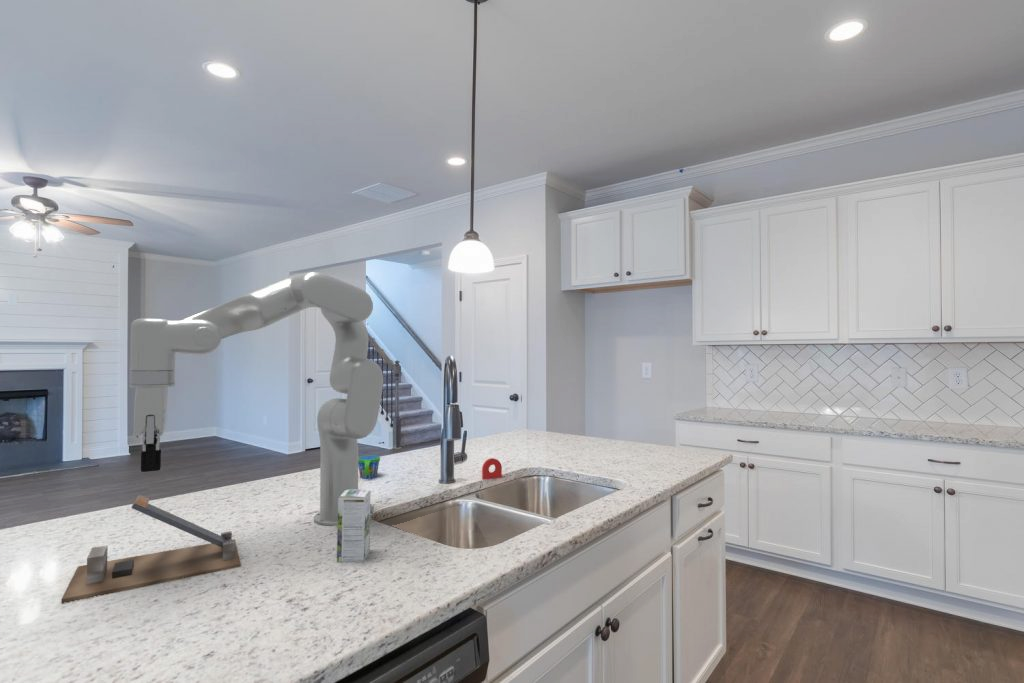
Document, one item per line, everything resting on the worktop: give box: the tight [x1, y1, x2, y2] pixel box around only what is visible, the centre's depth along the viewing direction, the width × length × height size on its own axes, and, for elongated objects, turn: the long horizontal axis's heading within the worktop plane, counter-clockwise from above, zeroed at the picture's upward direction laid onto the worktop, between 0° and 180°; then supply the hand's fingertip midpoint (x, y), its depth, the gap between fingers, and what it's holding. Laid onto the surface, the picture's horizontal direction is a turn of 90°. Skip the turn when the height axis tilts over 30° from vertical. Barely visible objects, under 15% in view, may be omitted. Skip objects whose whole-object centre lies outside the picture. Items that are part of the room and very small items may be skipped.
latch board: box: [60, 531, 242, 604], centre depth 105 cm, size 28×16×6 cm, turn 122°
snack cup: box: [358, 454, 381, 480], centre depth 179 cm, size 11×8×7 cm
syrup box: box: [336, 488, 372, 563], centre depth 110 cm, size 6×6×14 cm
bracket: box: [481, 457, 503, 480], centre depth 175 cm, size 12×4×8 cm, turn 117°
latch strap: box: [131, 494, 232, 548], centre depth 107 cm, size 21×5×2 cm
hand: (150, 470), depth 104 cm, fingers closed
